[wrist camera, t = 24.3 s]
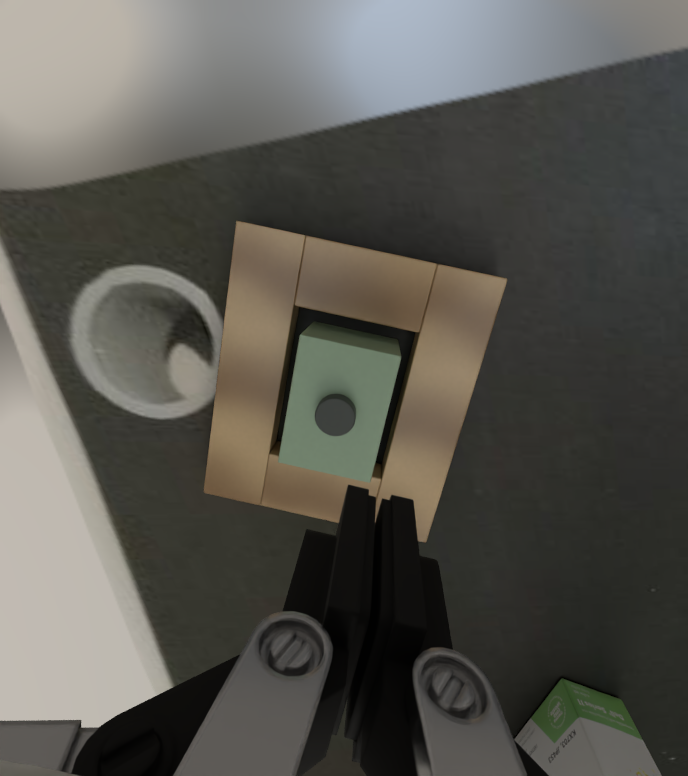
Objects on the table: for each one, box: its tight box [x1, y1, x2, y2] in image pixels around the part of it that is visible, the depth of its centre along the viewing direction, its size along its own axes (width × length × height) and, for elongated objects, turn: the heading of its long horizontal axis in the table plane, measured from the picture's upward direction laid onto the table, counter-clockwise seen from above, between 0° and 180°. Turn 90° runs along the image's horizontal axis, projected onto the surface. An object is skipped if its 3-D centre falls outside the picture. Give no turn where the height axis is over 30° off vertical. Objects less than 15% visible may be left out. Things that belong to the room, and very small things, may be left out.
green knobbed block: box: [278, 321, 401, 483], centre depth 24 cm, size 7×5×5 cm
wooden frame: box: [204, 221, 507, 543], centre depth 25 cm, size 16×14×2 cm
